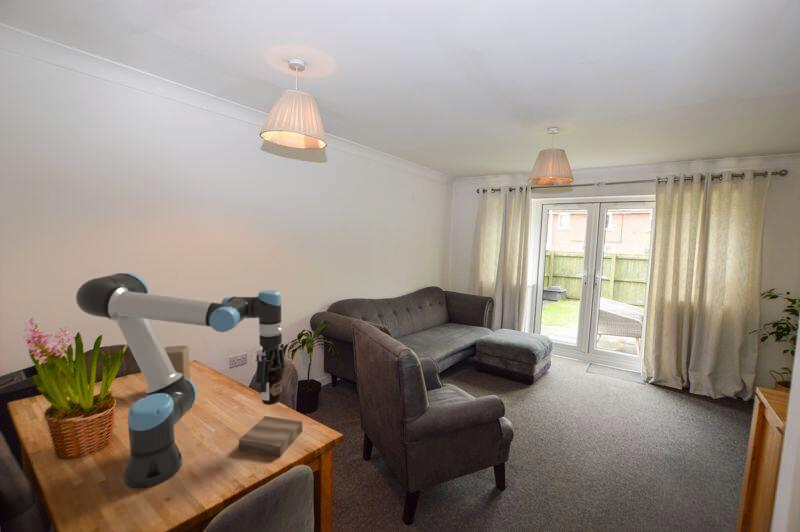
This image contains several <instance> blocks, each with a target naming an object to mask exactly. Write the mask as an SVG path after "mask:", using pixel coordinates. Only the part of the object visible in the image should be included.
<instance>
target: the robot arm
mask: <svg viewBox="0 0 800 532" xmlns="http://www.w3.org/2000/svg"><path fill="white" fill-rule="evenodd" d="M281 298H282V297H281V293H280V292H279V291H278V290H274V289H269V290H261V291H259V292H258V294H257V296H230V297H229V296H228V297H224V298H223V299H222V301H221V303H219V302H212V301H206V300H197V299H189V298H182V297H176V296H175V297H173V296H169V295H168V296H167V295H160V294H152V293H151V294H150V293H149V286H148V284H147V282H146V280H144V279H143V277H142V276H139V275H138V274H135V273H130V272H124V273H123V272H119V273H114V274H110V275H107V276H101V277H96V278H92V279H89V280H88V281H86V282H84V283H82V285H81V286H80V287H79V288H78V290H77V291H76V296H75V300H76V304H77V306H78V308H79V309H80V310H81V311H82V312H84V313H86V314H88V315H91V316H94V317H97V318H98V317H99V318H107V319H108V320H109V321H113V322H116V323H117V325H118V327H119V329H120V331H121V334H122V335H123V337H124V339H125V342H126V343H127V345H128V347H129V349H130V351H131V353H132V355H133V357H134V359H135V361H136V363H137V366H138V367H139V370H140V371H141V374H142V375H143V378H144V380H145V382H146V383H147V387H146V389H145V393H146V396H145V397H141V398H140V399H138V400H136V401H135V402H134V403H132V405H131V406H130V407H129V409H128V413H127V416H128V417H127V425H128V427H127V428H128V435H129V437H128V438H129V453H130V455H129V458H128V462H127V466H126V468H125V470H124V483H125V484H126V486H128V487H129V488H130V487H131V488H136V489H137V488H139V489H140V488H141V489H142V488H147V487H148V488H149V487H151V486H155V485H158V484H160V483H162V482H164V481H167V480H168V479H171V477H173V476H174V475H175V474H176V473H178V472H179V471H180V469H181V468H182V466H183V456H182V453H181V452H180V449H179V448H178V445H177V444H176V440H175V437H176V436H175V425H176V424H177V423H178V422H179V421H180V420H181V419H182V418H183V417H184V416H185V414H186V413H187V412H189V411H190V410H191V408H192V407H193V405H194V404H195V403H196V400H197V396H198V389H197V387H196V384H195V383H194V382H193V381H192V380H191V379H190V380H187V379H186V378H184V376H183V374H182V373H178V372H176V371H175V370H174V367H173V365H172V363H171V361H170V359H169V357H168V355H167V353H166V351H165V348H164V344H163V343H162V341H161V339H160V337H159V334H158V332H157V329H156V328H155V325H154V324H153V322H152V321H153V320H154V321H161V322H162V321H163V322H169V323H179V324H184V325H185V324H187V325H195V326H202V327H203V326H204V327H211V328H212V329H213V330H214V331H216V332H218V333H226V332H230V331H231V330H233V329H234V328H236V327H238V325H239V324H240V323H241V322H242V321H243V320H245V319H258V334H259V339H258V340H259V345H260V347H261V348H262V351H261V354H257V355H256V361H257V363H256V376H255V377H256V378H255V379H256V381H255V382H256V384H260V395H261V396H260V397H261V401H262V400H267V401H268V400H269V382H267V381H268V375H269V370H270V365H271V364H280V365H282V367H281V368H282V369H283V370H284V371H283V373H285V368H286V362H285V361H286V360H285V351H284V347H285V345H284V344H285V343H282V342H283V341H282V340H283V339H282V336H283V335H282V328H283V327H282V299H281ZM282 390H283V389H281V391H282Z"/></svg>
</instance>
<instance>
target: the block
mask: <svg viewBox="0 0 800 532" xmlns="http://www.w3.org/2000/svg"><path fill="white" fill-rule="evenodd" d="M164 349H165V351H166V353H167V355H168V357H169V359H170V361H171V363H172V365H173V367H174V370H175V371H176V372H178V373H182V374H183V376H184V378H186V379H187V380H190V381H191V376H190V373H191V371H190V352H189V346H188V345H173V346H172V345H171V346H166V347H165V348H164Z"/></svg>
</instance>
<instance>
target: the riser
mask: <svg viewBox="0 0 800 532" xmlns="http://www.w3.org/2000/svg"><path fill="white" fill-rule="evenodd" d="M303 431H304V430H303V421H301V420H294V419H287V418H281V417H273V416H267V415H265V416H264V417H262V418H261V419H260V420H259V421H258V422H257V423H255V425H254V426H252V427H251V428H250V429H248V431H247V432H245V434H244V435H242V436H241V437H240V438H239V439H238V446H239V447H238V448H239V450H238V451H244V452H250V453H253V454H254V453H255V454H260V455H266V456H271V457H277V458H281V457H282V456H283V454H285V452H286V451H287V450H288V449H289V448H290V447H291V446H292V444H294V442H295V441H296V440H297V438H298V437H299V436H301V434H302V433H303Z"/></svg>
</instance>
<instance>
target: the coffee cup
mask: <svg viewBox="0 0 800 532" xmlns="http://www.w3.org/2000/svg"><path fill="white" fill-rule="evenodd" d="M281 367H282V365H280V364H273V363H271V365H270V370H269V375H268V381H267V382H269V400H268V401H267V400H261V402H262V404H263V405H266V406H271V405H276V404H278V403H279V402H280V401H281V393H282V390H283V389H282V384H283V373H284V372H285V369H282V368H281ZM283 371H284V372H283ZM281 389H282V390H281Z"/></svg>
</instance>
